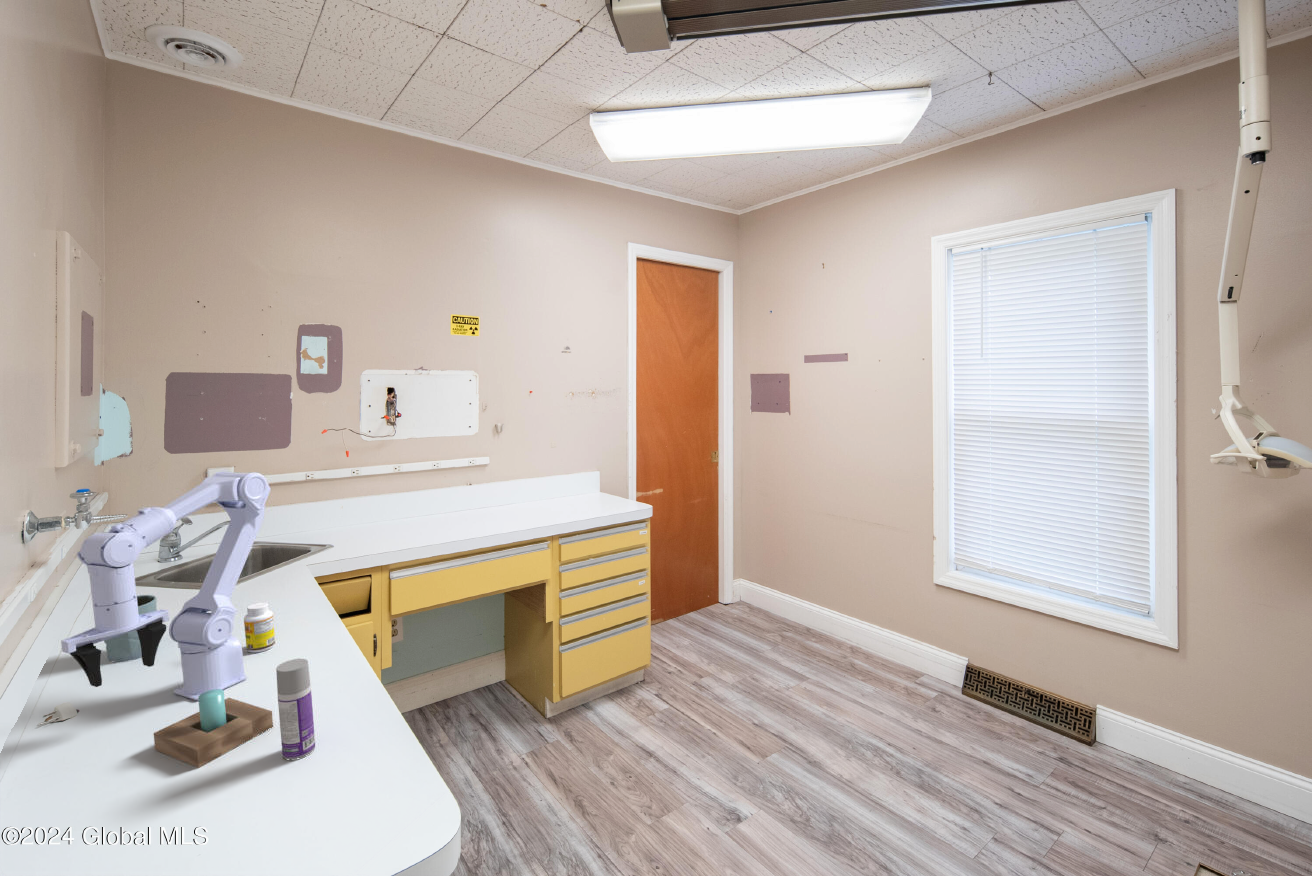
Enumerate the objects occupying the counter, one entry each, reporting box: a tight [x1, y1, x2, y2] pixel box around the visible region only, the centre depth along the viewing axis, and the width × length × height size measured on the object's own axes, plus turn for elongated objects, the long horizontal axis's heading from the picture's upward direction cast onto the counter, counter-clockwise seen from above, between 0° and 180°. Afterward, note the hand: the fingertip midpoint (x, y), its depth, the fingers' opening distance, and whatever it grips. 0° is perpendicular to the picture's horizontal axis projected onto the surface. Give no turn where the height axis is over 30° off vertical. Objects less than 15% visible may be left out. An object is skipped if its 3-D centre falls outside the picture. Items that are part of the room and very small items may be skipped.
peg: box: [197, 689, 227, 733], centre depth 103 cm, size 4×4×8 cm
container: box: [275, 658, 316, 761], centre depth 98 cm, size 5×5×15 cm
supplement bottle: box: [243, 602, 276, 654], centre depth 137 cm, size 6×6×10 cm
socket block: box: [153, 697, 274, 768], centre depth 103 cm, size 12×12×3 cm
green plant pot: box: [103, 594, 158, 663], centre depth 136 cm, size 10×10×12 cm
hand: (123, 674), depth 106 cm, fingers open, 7 cm apart
